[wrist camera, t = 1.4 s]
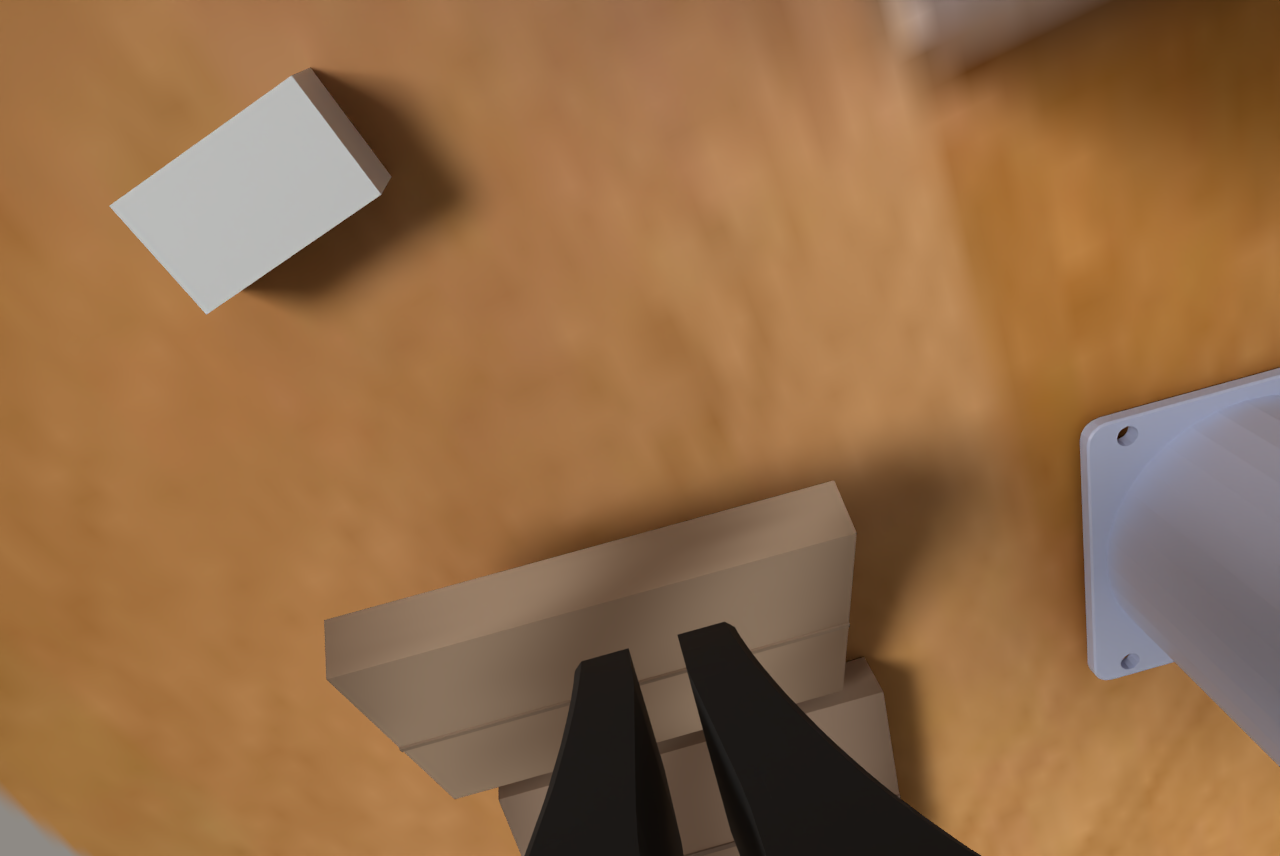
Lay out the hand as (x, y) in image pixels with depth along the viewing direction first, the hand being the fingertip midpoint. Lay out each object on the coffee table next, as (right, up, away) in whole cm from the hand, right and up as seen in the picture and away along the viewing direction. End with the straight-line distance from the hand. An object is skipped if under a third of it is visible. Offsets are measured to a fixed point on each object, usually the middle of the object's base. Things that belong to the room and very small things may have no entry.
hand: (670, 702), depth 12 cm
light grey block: (-8, +8, +7) cm, 13 cm away
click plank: (-1, -1, +9) cm, 10 cm away
